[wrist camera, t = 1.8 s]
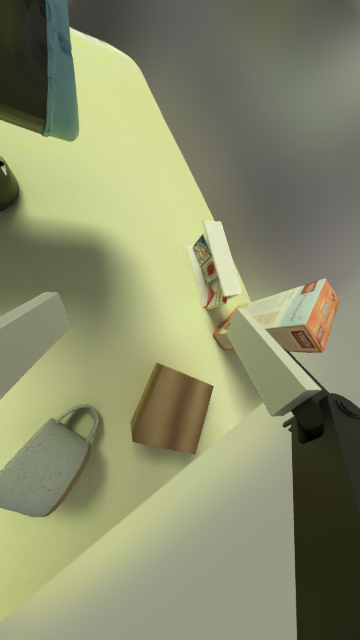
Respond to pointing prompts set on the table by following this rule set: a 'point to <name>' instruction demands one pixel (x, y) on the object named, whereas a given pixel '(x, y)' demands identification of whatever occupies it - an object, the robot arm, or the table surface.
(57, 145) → the table surface
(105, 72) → the table surface
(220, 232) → the white packet holder
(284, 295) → the cracker box
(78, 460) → the ceramic mug
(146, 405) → the walnut block
